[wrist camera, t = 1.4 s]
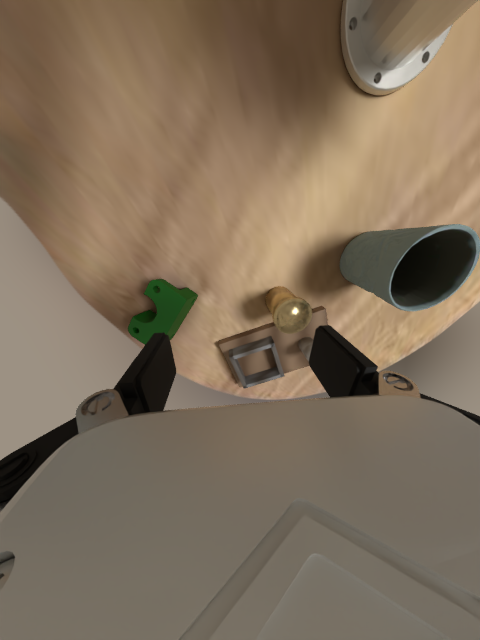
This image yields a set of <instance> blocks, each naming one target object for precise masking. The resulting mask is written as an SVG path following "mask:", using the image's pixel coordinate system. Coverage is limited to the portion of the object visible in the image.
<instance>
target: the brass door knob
mask: <svg viewBox="0 0 480 640" xmlns="http://www.w3.org/2000/svg"><path fill="white" fill-rule="evenodd" d="M265 302H266V305H267V307H268V309H269V310H270V312H271V314H272V318H273V322H274V324H275V326H276V327H277V329H278V330H279V331H281V332H283V333H286V334H293V333H297V332H299V331H301V330H303V329H304V328H305V327H306V326H307V325H308V324H309V322H310V320H311V318H312V309H311V307H310V305H309V304H308V303H307V302H306V301H305V300H304V299H302V298H300V297H296V296H295V295H294V294H293V293H291V292H290V291H289V290H288V289H287V288H285V287H281V286H278V287H275V288H273V289H271V290H270V291H269V292H268V293H267V295H266V299H265Z"/></svg>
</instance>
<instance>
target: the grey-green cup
mask: <svg viewBox="0 0 480 640" xmlns="http://www.w3.org/2000/svg"><path fill="white" fill-rule="evenodd" d="M479 253H480V240H479V237H478V235H477V234H476V232H475V231H474V230H473V229H471V228H470V227H468V226H465V225H461V224H452V225H441V226H431V227H421V228H406V229H397V230H384V231H371V232H366V233H363V234H361V235H359V236H357V237H356V238H354V239H353V240H352V241H351V242H350V243H349V244H348V245H347V246H346V248H345V249H344V251H343V253H342V255H341V259H340V271H341V274H342V275H343V277H344V278H345V279H346V280H348V281H350V282H352V283H353V284H355V285H357V286H359V287H361V288H363V289H364V290H366V291H368V292H371V293H374V294H375V295H376V296H378V297H380V298H381V299H383V300H385V301H386V302H388V303H389V304H391V305H393V306H395V307H396V308H398V309H401V310H404V311H418V310H423V309H427V308H430V307H432V306H435V305H437V304H439V303H441V302H442V301H444V300H445V299H447V298H448V297H450V296H451V295H452V294H454V293H455V292H456V291H457V290H458V289H459V288H460V287H461V286H462V285H463V284H464V283H465V281H466V280H467V279H468V277H469V276H470V275H471V273H472V271H473V270H474V268H475V266H476V263H477V261H478V258H479Z"/></svg>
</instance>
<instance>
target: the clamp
mask: <svg viewBox="0 0 480 640" xmlns="http://www.w3.org/2000/svg"><path fill="white" fill-rule="evenodd" d="M158 287H159V288H158ZM144 295H147V296H148V297H150V298H151V299H152V300H153V301H154V303H155V305H156V308H157V314H156V313H154V312H153V311H151V310H148V311H145V312H143V313H140V314H138V315H136V316H133V318H132V320H131V322H130V324H129V326H128V331H129V333H130V334H131V336H133V337H134V338H136V339H137V340H139V341H140V342H142V343H143V344H145V345H146V343H147V342H148V341H149V339H150V338H151V336H152V335H153V334H154V333H165V334H166V335H168V336H169V339H170V340H171V339H172V338H173V336H174V335H175V333H176V332H177V330H178V329H179V327H180V325H181V324H182V322H183V320H184V319H185V317H186V315H187V314H188V312H189V310H190V309H191V307H192V306H193V304H194V302H195V301H196V299H197V297H198V295H197V294H196V293H195V292H193V291H192V290H190V289H189V288H184V289H181V290H179V289H177V288H176V287H174V286H173V285H171V284H170V283H168V282H167V281H166V280H164V279H156V280H152V281H150V283H149V284H148V286H147V288H146V291H145V293H144Z"/></svg>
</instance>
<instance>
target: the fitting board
mask: <svg viewBox="0 0 480 640" xmlns="http://www.w3.org/2000/svg"><path fill="white" fill-rule="evenodd" d="M321 325H328V323H327V314H326V309H325V308H324V307H323V306H320V307H317V308H314V309H312V318H311V320H310V322H309V324H308V325H307V326H306V327H305V328H304V329H303V330H301V331H299V332H297V333H293V334H286V333H283V332H281V331H279V330H278V329H277V327H276V326H275V324H274V322H273V323H270V324H267V325H264V326H261V327H258V328H255V329H252V330H249V331H246V332H243V333H240V334H237V335H234V336H231V337H228V338H225V339H222V340H220V341H219V346H220V348H221V350H222V352H223V354H224V357H225V359H226V361H227V363H228V365H229V367H230V369H231V371H232V373H233V375H234V377H235V379H236V381H237V383H238V385H239V387H243V388H244V389H245V388H248V387H251V386H254V385H257V384H261V383H264V382H267V381H270V380H273V379H277V378H280V377H283V376H284V373H287V372H291V371H294V370H297V369H300V368H304V367H307V366H310V365H309V358H310V353H311V348H312V344H313V339H314V335H315V330H316V328H318V327H319V326H321Z"/></svg>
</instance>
